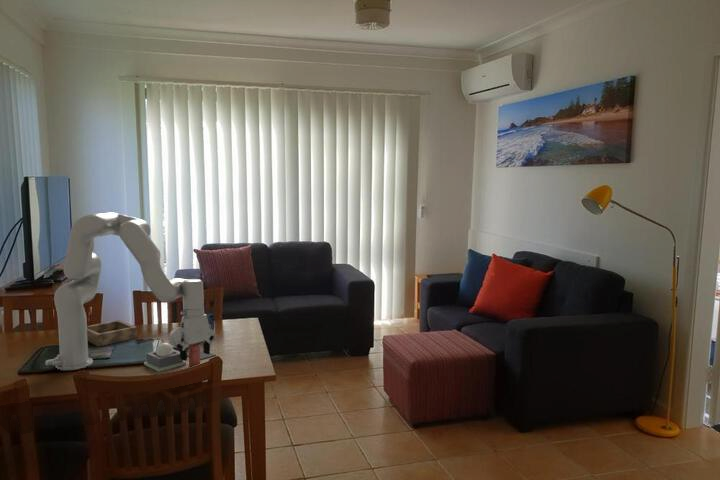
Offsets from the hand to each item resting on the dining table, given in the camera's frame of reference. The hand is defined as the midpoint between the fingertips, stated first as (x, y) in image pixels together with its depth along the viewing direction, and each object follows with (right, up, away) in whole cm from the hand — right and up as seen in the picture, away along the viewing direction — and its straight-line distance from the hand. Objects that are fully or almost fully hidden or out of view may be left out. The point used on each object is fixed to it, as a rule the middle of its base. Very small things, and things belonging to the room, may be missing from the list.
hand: (195, 356), depth 208 cm
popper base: (-12, -3, +1) cm, 12 cm away
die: (-14, 0, +17) cm, 22 cm away
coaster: (-1, -2, +12) cm, 12 cm away
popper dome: (-12, 0, +1) cm, 12 cm away
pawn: (0, -3, 0) cm, 4 cm away
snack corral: (-48, +1, +34) cm, 59 cm away
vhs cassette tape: (-7, 0, +33) cm, 33 cm away
